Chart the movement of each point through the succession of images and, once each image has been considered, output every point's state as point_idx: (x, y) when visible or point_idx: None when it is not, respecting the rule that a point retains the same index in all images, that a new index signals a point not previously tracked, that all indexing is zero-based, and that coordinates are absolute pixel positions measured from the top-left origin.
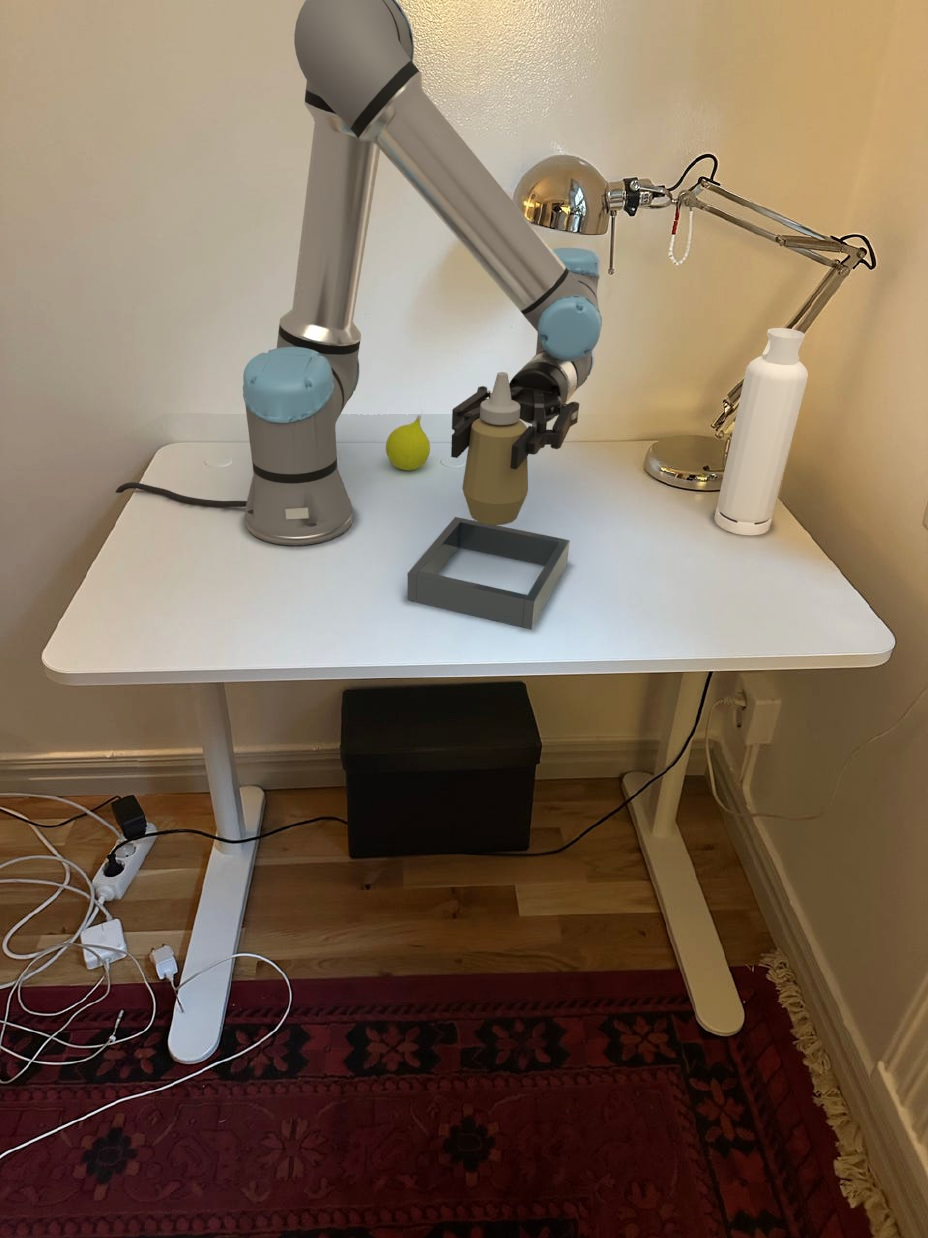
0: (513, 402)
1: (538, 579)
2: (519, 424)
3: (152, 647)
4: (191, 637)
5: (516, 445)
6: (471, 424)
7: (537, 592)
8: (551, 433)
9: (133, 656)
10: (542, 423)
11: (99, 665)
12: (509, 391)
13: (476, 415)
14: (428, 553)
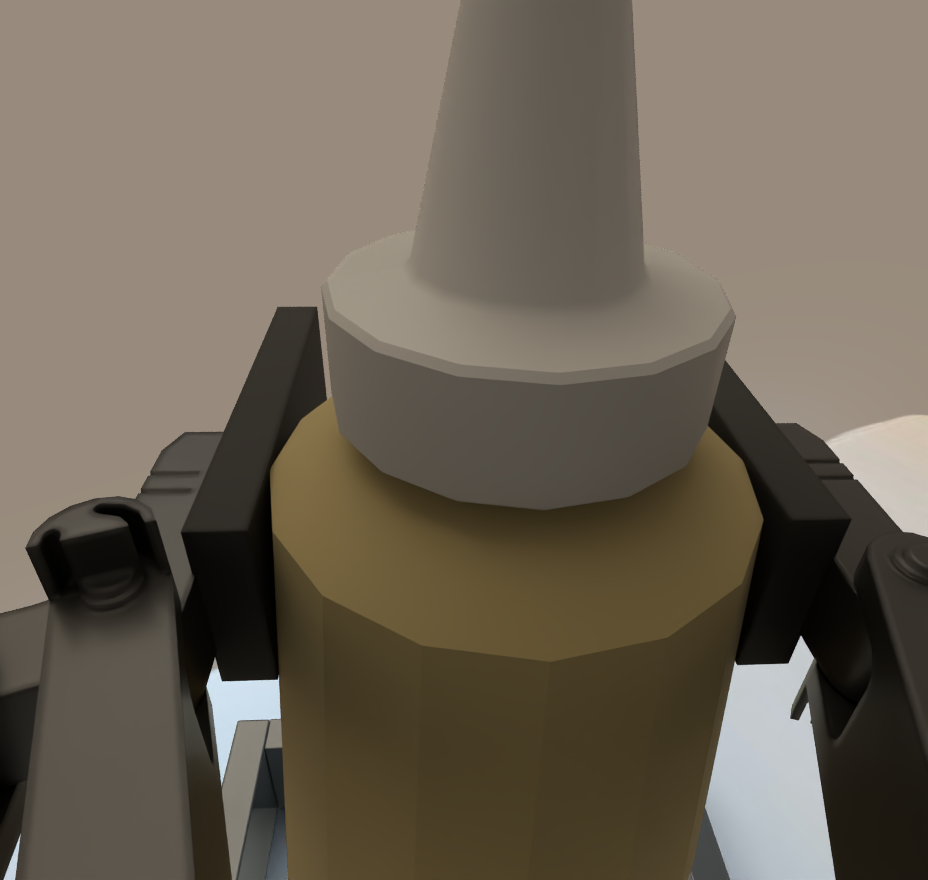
0: (421, 311)
1: (233, 865)
2: (330, 443)
3: (895, 469)
4: (882, 500)
5: (292, 314)
6: (724, 441)
7: (230, 774)
8: (7, 614)
9: (889, 450)
10: (92, 506)
11: (898, 428)
12: (440, 108)
13: (870, 603)
14: (707, 861)
